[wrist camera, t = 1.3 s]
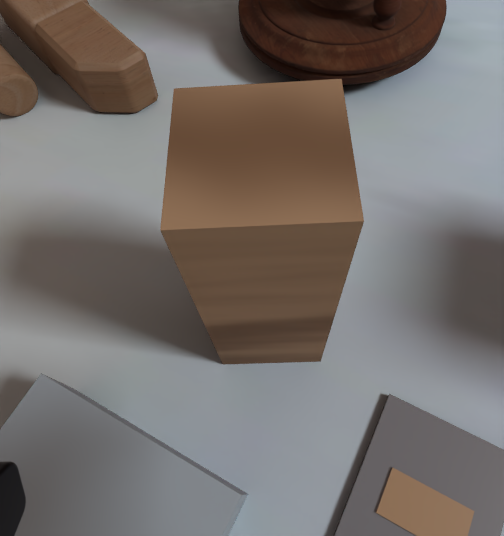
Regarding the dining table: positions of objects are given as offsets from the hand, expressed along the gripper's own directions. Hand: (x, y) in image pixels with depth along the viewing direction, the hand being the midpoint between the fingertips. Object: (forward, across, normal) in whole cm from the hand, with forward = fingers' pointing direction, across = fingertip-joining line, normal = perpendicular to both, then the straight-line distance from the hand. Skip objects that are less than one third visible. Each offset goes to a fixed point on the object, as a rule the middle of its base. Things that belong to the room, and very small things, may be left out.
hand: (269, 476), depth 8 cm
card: (+9, -6, +10) cm, 15 cm away
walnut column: (+15, 0, +4) cm, 16 cm away
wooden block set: (+29, +19, -9) cm, 36 cm away
